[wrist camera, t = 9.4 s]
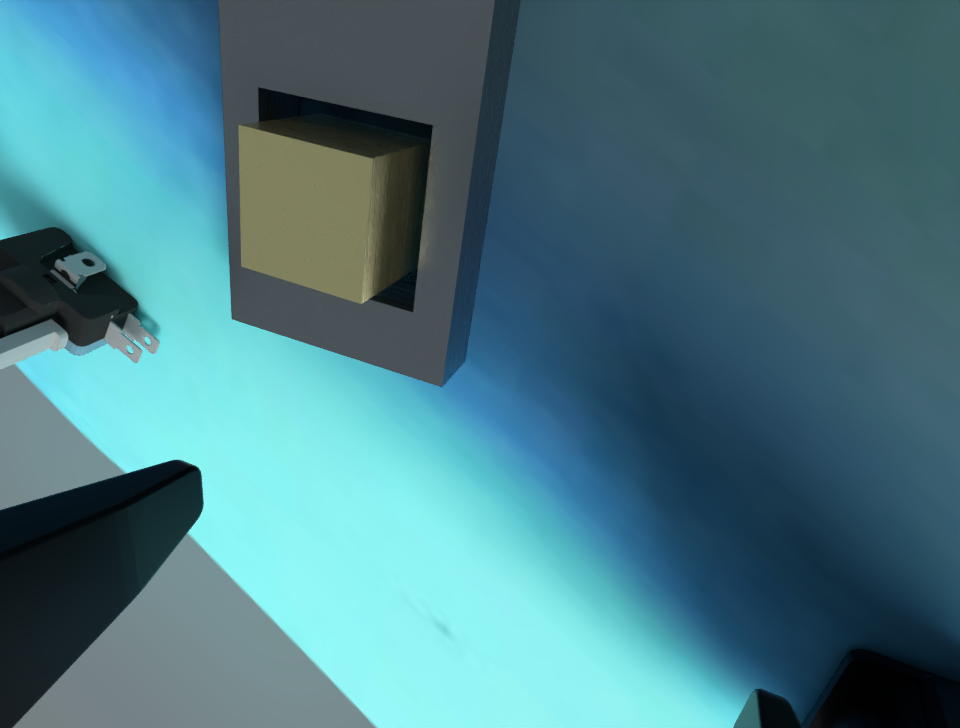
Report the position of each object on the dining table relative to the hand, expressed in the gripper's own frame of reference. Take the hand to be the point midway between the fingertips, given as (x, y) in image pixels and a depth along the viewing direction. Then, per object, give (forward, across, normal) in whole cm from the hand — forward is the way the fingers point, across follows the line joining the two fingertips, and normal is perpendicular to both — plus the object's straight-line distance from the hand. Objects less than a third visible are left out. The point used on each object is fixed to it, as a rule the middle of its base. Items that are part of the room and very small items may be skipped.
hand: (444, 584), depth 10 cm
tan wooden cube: (+12, +8, -2) cm, 15 cm away
